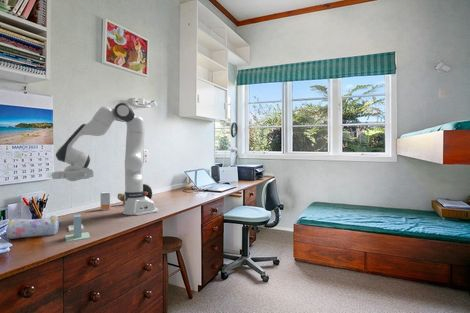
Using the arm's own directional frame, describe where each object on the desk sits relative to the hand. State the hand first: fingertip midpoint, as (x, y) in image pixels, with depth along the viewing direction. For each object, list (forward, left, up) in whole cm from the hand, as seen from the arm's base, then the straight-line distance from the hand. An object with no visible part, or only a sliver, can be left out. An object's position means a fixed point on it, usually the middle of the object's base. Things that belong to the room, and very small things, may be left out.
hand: (74, 175), depth 154 cm
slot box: (0, +7, -28) cm, 29 cm away
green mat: (0, +22, -28) cm, 36 cm away
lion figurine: (-36, -44, -28) cm, 63 cm away
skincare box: (-20, -36, -28) cm, 50 cm away
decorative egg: (-48, -41, -28) cm, 69 cm away
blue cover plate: (0, +22, -27) cm, 35 cm away
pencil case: (+18, +9, -28) cm, 35 cm away
